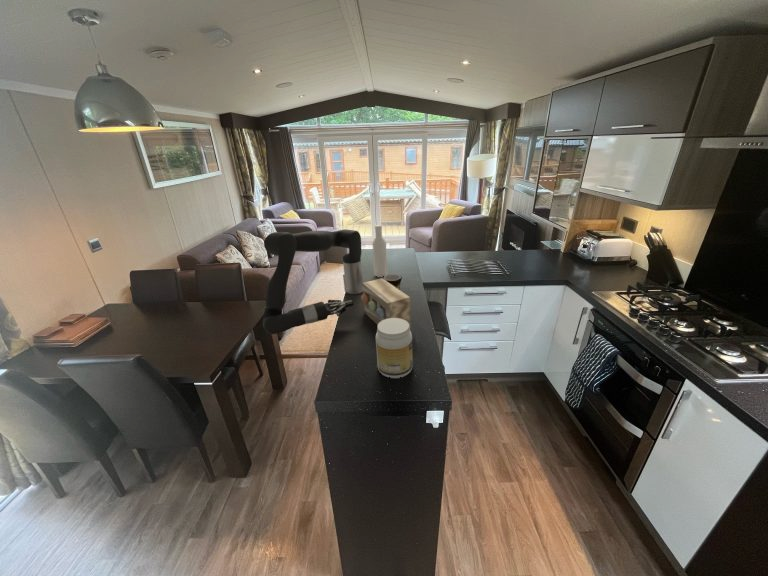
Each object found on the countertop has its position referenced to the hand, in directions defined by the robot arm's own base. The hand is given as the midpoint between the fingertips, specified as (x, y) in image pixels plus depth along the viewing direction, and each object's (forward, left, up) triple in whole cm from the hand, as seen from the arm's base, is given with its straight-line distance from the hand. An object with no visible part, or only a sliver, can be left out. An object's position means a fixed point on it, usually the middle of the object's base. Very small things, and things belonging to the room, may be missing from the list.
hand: (352, 302), depth 134 cm
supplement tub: (+32, -19, -9) cm, 39 cm away
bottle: (-20, +52, -9) cm, 56 cm away
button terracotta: (+3, +5, -2) cm, 6 cm away
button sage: (+9, +1, -2) cm, 10 cm away
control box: (+12, +7, -9) cm, 17 cm away
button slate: (+16, -2, -2) cm, 16 cm away
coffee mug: (+2, +32, -9) cm, 33 cm away
